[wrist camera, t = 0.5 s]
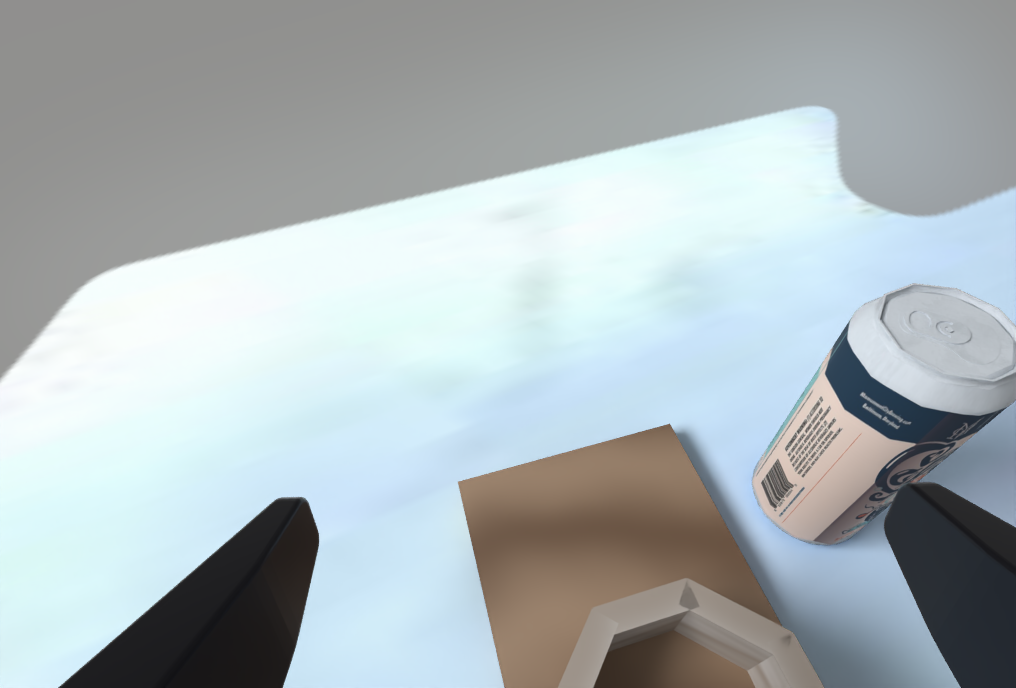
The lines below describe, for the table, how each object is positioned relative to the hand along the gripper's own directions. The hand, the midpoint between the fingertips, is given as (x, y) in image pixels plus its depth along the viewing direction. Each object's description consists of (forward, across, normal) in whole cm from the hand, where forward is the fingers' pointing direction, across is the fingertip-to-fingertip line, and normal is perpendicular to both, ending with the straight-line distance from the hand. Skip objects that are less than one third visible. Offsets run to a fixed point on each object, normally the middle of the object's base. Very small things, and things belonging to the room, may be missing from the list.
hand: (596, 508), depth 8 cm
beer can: (+12, -12, +13) cm, 22 cm away
